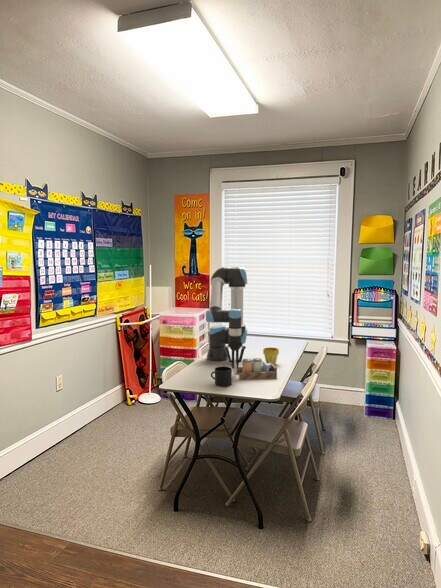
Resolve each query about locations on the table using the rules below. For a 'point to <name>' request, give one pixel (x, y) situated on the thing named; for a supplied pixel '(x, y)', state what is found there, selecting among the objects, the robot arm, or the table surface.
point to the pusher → (265, 366)
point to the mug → (222, 376)
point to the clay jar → (247, 366)
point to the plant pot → (271, 354)
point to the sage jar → (256, 365)
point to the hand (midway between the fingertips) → (235, 373)
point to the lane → (258, 373)
